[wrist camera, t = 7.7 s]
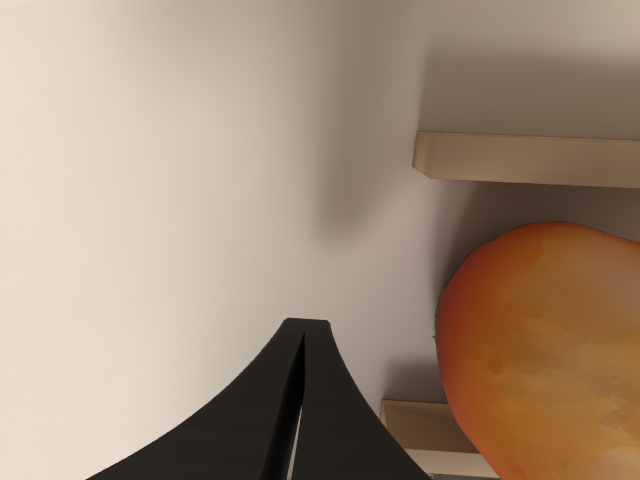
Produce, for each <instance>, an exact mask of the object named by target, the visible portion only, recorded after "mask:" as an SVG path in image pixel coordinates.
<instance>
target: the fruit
mask: <svg viewBox="0 0 640 480" xmlns="http://www.w3.org/2000/svg"><path fill="white" fill-rule="evenodd" d="M435 333H436V335H435V336H433V337H434V338H435V342H436V351H437V359H438V362H439V369H440V376H441V381H442V386H443V388H444V391H445V394H446V398H447V401H448V404H449V407H450V410H451V412H452V414H453V416H454V418H455V419H456V421H457V423H458V425H459V426H460V428H461V429H462V431H463V432H464V433H465V435H466V436H467V437H468V439H469V440H470V441H471V442H472V444H473V445H474V446H475V447H476V449H477V450H478V451H479V452H480V454H481V455H482V456H483V457H484V459H485V460H486V461H487V463H488V464H489V465H490V466H491V468H492V469H493V470H494V472H495V473H496V474H497V475H498V476H499V477H500V478H501V479H502V480H640V243H639V242H635V241H630V240H626V239H621V238H618V237H615V236H612V235H609V234H606V233H604V232H601V231H598V230H595V229H592V228H589V227H586V226H583V225H579V224H575V223H568V222H560V221H556V222H541V223H533V224H528V225H524V226H521V227H518V228H515V229H513V230H511V231H509V232H507V233H505V234H504V235H502V236H500V237H499V238H497V239H494V240H492V241H490V242H488V243H485V244H483V245H482V246H480V247H479V248H477V249H476V250H475V251H474V252H472V253H471V254H470V255H469V256H468V257H467V258H466V259H465V260H464V262H463V263H462V264H461V266H460V267H459V268H458V270H457V271H456V273H455V274H454V275H453V277H452V279H451V280H450V282H449V283H448V285H447V286H446V288H445V289H444V291H443V292H442V293H441V295H440V298H439V302H438V306H437V310H436V315H435Z"/></svg>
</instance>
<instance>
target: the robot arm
mask: <svg viewBox="0 0 640 480" xmlns="http://www.w3.org/2000/svg"><path fill="white" fill-rule="evenodd" d="M301 406H302V412H301V419H300V426H299V433H298V440H297V446H296V453H295V459H294V466H293V472H292V478H291V480H432V479H431V478H430V477H429V476H428V475H427V474H426V473H425V472H424V471H423V470H422V469H421V467H420V466H419V465H418V464H417V463H416V462H415V461H414V460H413V459H412V458H411V457H410V456H409V454H408V453H407V452H406V451H405V450H404V449H403V448H402V446H401V445H400V444H399V443H398V442H397V441H396V440H395V438H394V437H393V436H392V435H391V434H390V433H389V431H388V430H387V429H386V428H385V426H384V425H383V424H382V422H381V421H380V420H379V418H378V417H377V416H376V414H375V413H374V412H373V410H372V409H371V407H370V406H369V404H368V403H367V402H366V400H365V398H364V397H363V395H362V394H361V392H360V391H359V389H358V387H357V386H356V384H355V382H354V380H353V379H352V377H351V375H350V373H349V371H348V369H347V368H346V365H345V363H344V361H343V359H342V357H341V355H340V353H339V350H338V348H337V346H336V343H335V340H334V338H333V335H332V331H331V327H330V323H329V322H328V321H327V320H316V319H300V318H287V319H285V320H284V321H283V323H282V324H281V326H280V327H279V329H278V330H277V332H276V333H275V334H274V336H273V337H272V338H271V339H270V341H269V342H268V343H267V344H266V346H265V347H264V348H263V349H262V350H261V352H260V353H259V354H258V355H257V356H256V357H255V359H254V360H253V361H252V362H251V363H250V364H249V365H248V366H247V367H246V368H245V369H244V370H243V371H242V372H241V373H240V374H239V375H238V376H237V377H236V378H235V379H234V380H233V381H232V382H231V383H230V384H229V385H228V386H227V387H226V388H225V389H224V390H222V391H221V392H220V393H219V394H218V395H217V396H215V397H214V398H213V399H212V400H211V401H210V402H208V403H207V404H206V405H204V406H203V407H202V408H201V409H199V410H198V411H197V412H195V413H194V414H193V415H192V416H190V417H189V418H188V419H186V420H185V421H184V422H182V423H181V424H179V425H178V426H176V427H175V428H174V429H172V430H171V431H169V432H167V433H166V434H164V435H163V436H161V437H160V438H158V439H157V440H155V441H153V442H152V443H150V444H149V445H147V446H145V447H144V448H142V449H140V450H139V451H137V452H135V453H134V454H132V455H130V456H128V457H127V458H125V459H123V460H121V461H119V462H117V463H116V464H114V465H112V466H110V467H108V468H106V469H104V470H103V471H101V472H99V473H97V474H95V475H93V476H91V477H90V478H88V479H86V480H286V479H287V474H288V469H289V464H290V459H291V454H292V450H293V445H294V440H295V435H296V430H297V425H298V421H299V416H300V411H301Z"/></svg>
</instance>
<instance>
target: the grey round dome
mask: <svg viewBox="0 0 640 480" xmlns="http://www.w3.org/2000/svg"><path fill="white" fill-rule="evenodd" d="M434 480H502V479H501V478H493V477H479V476H465V475H450V474H440V475H439V476H437V477H436V478H435V479H434Z"/></svg>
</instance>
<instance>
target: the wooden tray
mask: <svg viewBox="0 0 640 480" xmlns="http://www.w3.org/2000/svg"><path fill="white" fill-rule="evenodd" d="M413 168H415V169H416V170H418V171H419V172H421V173H423V174H424V175H426V176H427V177H429V178H431V179H452V180H472V181H493V182H514V183H535V184H556V185H577V186H598V187H619V188H640V141H628V140H605V139H583V138H560V137H537V136H515V135H492V134H470V133H447V132H425V131H417V137H416V144H415V152H414V160H413ZM380 421H381V422H382V424H383V425H384V426H385V428H386V429H387V430H388V431H389V433H390V434H391V435H392V436H393V437H394V438H395V440H396V441H397V442H398V443H399V444H400V445H401V446H402V448H403V449H404V450H405V451H406V452H407V453H408V454H409V456H410V457H411V458H412V459H413V460H414V461H415V462H416V463H417V464H418V465H419V466H420V467H421V469H422V470H423V471H424V472H425V473H436V474H450V475H465V476H479V477H493V478H500V477H499V476H498V475H497V474H496V473H495V472H494V470H493V469H492V468H491V466H490V465H489V464H488V463H487V461H486V460H485V459H484V457H483V456H482V455H481V454H480V452H479V451H478V450H477V449H476V447H475V446H474V445H473V444H472V442H471V441H470V440H469V439H468V437H467V436H466V435H465V433H464V432H463V431H462V429H461V428H460V426H459V425H458V423H457V421H456V419H455V418H454V416H453V414H452V412H451V410H450V407H449V404H439V403H424V402H408V401H392V400H382V405H381V413H380Z"/></svg>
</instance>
